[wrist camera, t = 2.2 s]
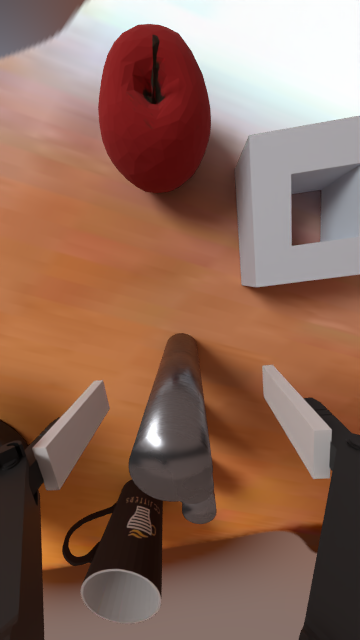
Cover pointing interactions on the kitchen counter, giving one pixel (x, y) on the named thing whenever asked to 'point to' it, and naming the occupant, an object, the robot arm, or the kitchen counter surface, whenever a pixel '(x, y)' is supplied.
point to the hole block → (275, 202)
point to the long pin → (174, 428)
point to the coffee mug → (124, 559)
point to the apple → (154, 108)
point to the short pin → (200, 510)
